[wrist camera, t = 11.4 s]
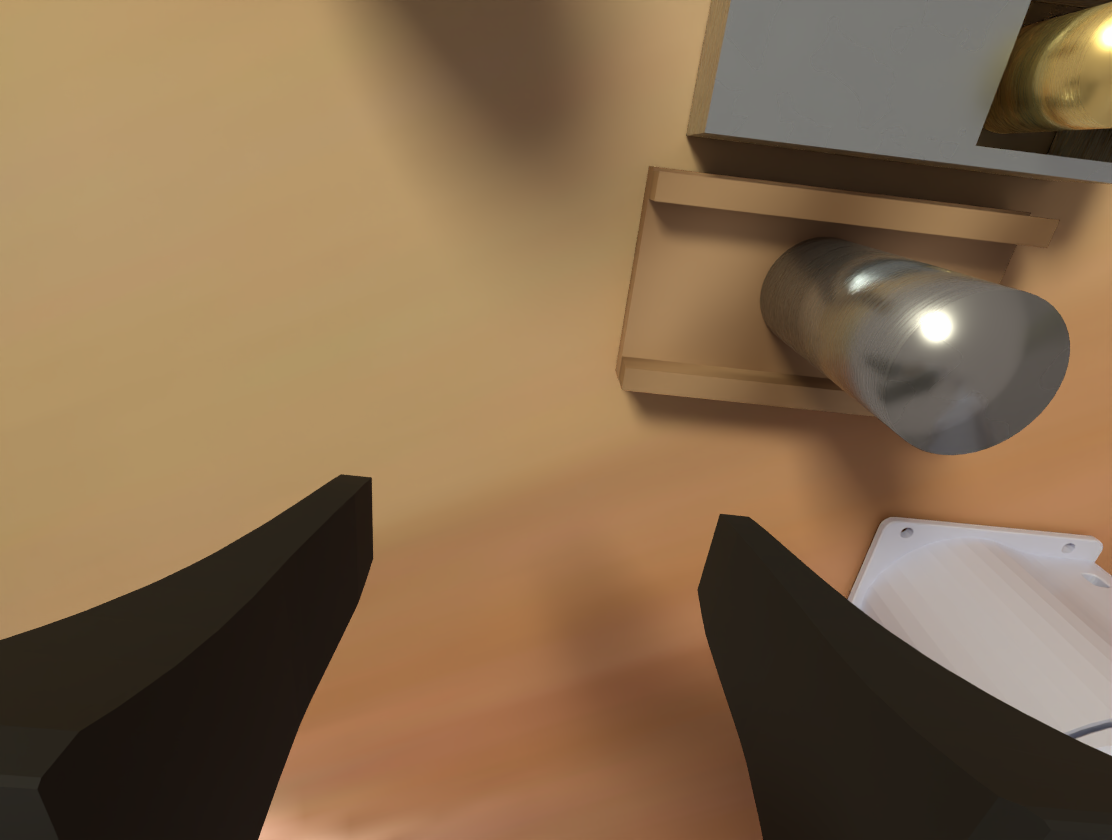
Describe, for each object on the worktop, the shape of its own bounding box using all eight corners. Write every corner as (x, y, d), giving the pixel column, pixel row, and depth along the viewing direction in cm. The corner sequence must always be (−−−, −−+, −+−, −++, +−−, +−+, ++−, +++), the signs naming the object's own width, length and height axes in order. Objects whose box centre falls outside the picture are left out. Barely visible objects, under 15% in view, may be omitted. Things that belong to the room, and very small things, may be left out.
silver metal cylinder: (885, 243, 18) (1104, 299, 11) (849, 350, 20) (1020, 462, 12) (776, 230, 18) (924, 279, 11) (747, 339, 20) (861, 446, 12)
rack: (1008, 209, 19) (1061, 216, 17) (926, 403, 22) (963, 428, 20) (649, 166, 18) (659, 167, 16) (615, 370, 21) (621, 392, 19)
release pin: (1087, 31, 16) (1237, -4, 13) (1041, 138, 18) (1167, 134, 14) (994, 18, 16) (1119, -21, 13) (954, 127, 17) (1058, 120, 14)
